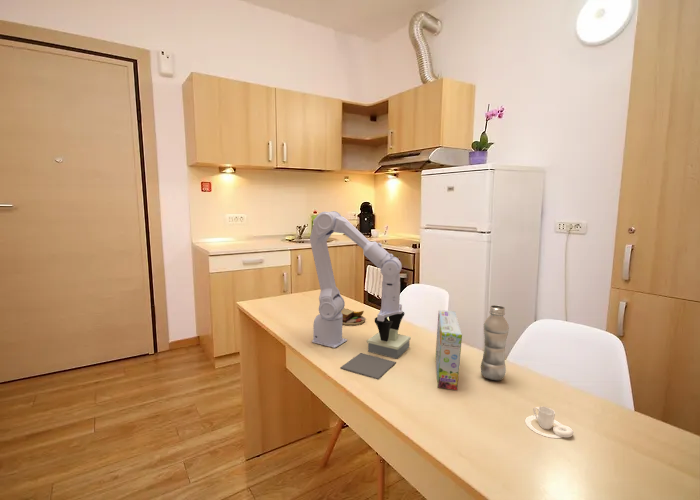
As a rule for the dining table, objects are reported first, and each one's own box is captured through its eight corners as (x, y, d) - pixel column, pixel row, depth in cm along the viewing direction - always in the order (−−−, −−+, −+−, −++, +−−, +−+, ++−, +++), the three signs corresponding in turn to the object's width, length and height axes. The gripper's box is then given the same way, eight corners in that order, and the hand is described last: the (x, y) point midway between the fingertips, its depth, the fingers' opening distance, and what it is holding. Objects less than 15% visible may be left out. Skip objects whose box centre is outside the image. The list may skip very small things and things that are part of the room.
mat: (340, 368, 102) (340, 367, 102) (360, 354, 112) (360, 352, 112) (378, 379, 96) (378, 378, 96) (396, 363, 106) (396, 361, 106)
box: (368, 351, 114) (368, 342, 114) (381, 341, 123) (381, 333, 123) (397, 358, 109) (397, 349, 109) (409, 347, 118) (409, 339, 118)
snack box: (459, 391, 91) (463, 334, 89) (437, 388, 92) (440, 332, 90) (453, 357, 112) (455, 310, 110) (434, 355, 113) (436, 308, 111)
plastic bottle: (504, 374, 100) (509, 305, 98) (506, 385, 94) (511, 311, 92) (479, 370, 103) (484, 302, 100) (480, 381, 96) (485, 309, 94)
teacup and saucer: (579, 440, 73) (581, 421, 73) (545, 445, 71) (547, 426, 71) (547, 415, 82) (549, 398, 81) (516, 419, 80) (518, 402, 79)
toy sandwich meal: (354, 329, 136) (355, 316, 135) (326, 322, 143) (326, 310, 142) (370, 320, 146) (371, 309, 146) (343, 314, 153) (343, 303, 153)
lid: (366, 343, 114) (367, 331, 113) (381, 333, 123) (381, 322, 122) (397, 351, 109) (398, 337, 108) (410, 340, 118) (411, 327, 117)
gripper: (393, 302, 106) (391, 346, 107) (410, 293, 118) (409, 332, 120) (371, 299, 109) (370, 342, 111) (391, 290, 122) (389, 328, 123)
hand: (389, 336), depth 116 cm, fingers open, 7 cm apart
